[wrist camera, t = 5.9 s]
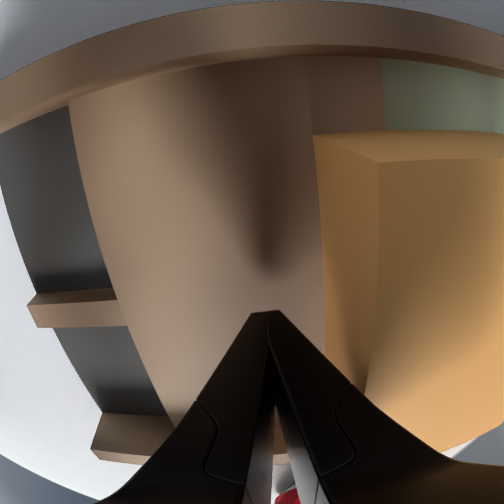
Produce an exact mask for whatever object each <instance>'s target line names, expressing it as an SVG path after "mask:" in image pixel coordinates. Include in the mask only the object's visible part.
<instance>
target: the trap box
mask: <svg viewBox="0 0 504 504" xmlns="http://www.w3.org/2000/svg"><path fill="white" fill-rule="evenodd" d="M382 130H462V131H482V132H495V133H500V134H504V36H501V35H498V34H496V33H493V32H490V31H487V30H484V29H481V28H478V27H475V26H472V25H469V24H465V23H462V22H458V21H455V20H451V19H447V18H443V17H439V16H435V15H431V14H426V13H421V12H416V11H411V10H406V9H400V8H393V7H387V6H379V5H371V4H362V3H351V2H336V1H269V2H254V3H243V4H234V5H225V6H218V7H211V8H204V9H198V10H193V11H187V12H182V13H177V14H172V15H168V16H163V17H159V18H155V19H151V20H147V21H143V22H140V23H136V24H133V25H129V26H126V27H122V28H119V29H116V30H113V31H110V32H107V33H104V34H101V35H98V36H95V37H93V38H90V39H87V40H84V41H82V42H79V43H77V44H74V45H72V46H69V47H67V48H65V49H62V50H60V51H58V52H55V53H53V54H51V55H49V56H46V57H44V58H42V59H40V60H38V61H36V62H34V63H32V64H30V65H28V66H26V67H24V68H22V69H20V70H18V71H16V72H15V73H13V74H11V75H9V76H7V77H6V78H4V79H2V80H0V185H1V190H2V194H3V197H4V201H5V205H6V208H7V212H8V215H9V219H10V222H11V225H12V229H13V232H14V235H15V238H16V241H17V244H18V247H19V249H20V252H21V255H22V258H23V260H24V263H25V266H26V268H27V271H28V273H29V276H30V278H31V281H32V283H33V286H34V288H35V291H36V293H37V294H36V295H35V296H34V298H33V299H32V300H31V301H30V302H29V303H28V305H27V307H28V309H29V311H30V313H31V315H32V317H33V319H34V321H35V323H36V325H37V327H38V328H53V329H54V331H55V333H56V335H57V337H58V339H59V341H60V343H61V345H62V347H63V349H64V350H65V352H66V354H67V356H68V358H69V359H70V361H71V363H72V365H73V366H74V368H75V370H76V372H77V373H78V375H79V377H80V378H81V380H82V382H83V383H84V385H85V386H86V388H87V390H88V391H89V393H90V394H91V396H92V397H93V399H94V401H95V402H96V404H97V405H98V407H99V408H100V409H101V411H102V412H103V413H102V416H101V418H100V421H99V424H98V427H97V430H96V433H95V436H94V439H93V442H92V445H91V448H90V449H91V451H92V452H93V453H94V454H95V455H96V456H97V457H98V458H99V459H100V460H106V461H113V462H120V463H128V464H137V465H143V464H144V463H145V462H146V461H147V460H148V459H149V458H150V457H151V456H152V455H153V454H154V452H155V451H156V450H157V449H158V448H159V447H160V446H161V445H162V444H163V442H164V441H165V440H166V439H167V438H168V436H169V435H170V434H171V433H172V432H173V431H174V429H175V428H176V427H177V425H178V424H179V423H180V421H181V420H182V418H183V417H184V416H185V414H186V413H187V411H188V410H189V408H190V407H191V405H192V404H193V402H194V401H196V398H197V396H198V395H199V393H200V392H201V390H202V389H203V387H204V386H205V384H206V383H207V381H208V380H209V378H210V377H211V375H212V373H213V372H214V370H215V369H216V367H217V366H218V364H219V363H220V361H221V360H222V358H223V356H224V355H225V353H226V352H227V350H228V349H229V347H230V345H231V344H232V342H233V341H234V339H235V338H236V336H237V334H238V333H239V331H240V330H241V328H242V326H243V325H244V323H245V322H246V320H247V319H248V317H249V315H250V314H251V313H253V312H262V311H271V310H280V311H281V312H282V313H283V314H284V315H285V316H286V317H287V318H288V319H289V320H290V321H291V322H292V323H293V324H294V325H295V326H296V327H297V328H298V329H299V330H300V331H301V332H302V333H303V334H304V335H305V336H306V337H307V338H308V339H309V340H310V341H311V342H312V343H313V344H314V345H315V346H316V347H317V348H318V349H319V351H320V352H321V353H322V354H323V355H324V356H325V312H324V279H323V256H322V238H321V222H320V208H319V195H318V183H317V172H316V162H315V152H314V142H313V135H318V134H330V133H344V132H360V131H382ZM288 463H290V461H289V457H288V453H287V449H286V445H285V441H284V437H283V433H282V429H281V425H280V422H279V418H278V414H277V410H276V406H275V429H274V450H273V465H279V464H288Z"/></svg>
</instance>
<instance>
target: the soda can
mask: <svg viewBox="0 0 504 504" xmlns="http://www.w3.org/2000/svg"><path fill="white" fill-rule="evenodd" d="M275 504H301V503H300V499H299V495H298V492H297V488H296V484H294V485H292V486H290V487H289V488H288V489H287V491H285V492H284V493H282V494H280V495H279V496H278V497H277V498H276V499H275Z"/></svg>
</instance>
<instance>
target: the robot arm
mask: <svg viewBox="0 0 504 504" xmlns="http://www.w3.org/2000/svg"><path fill="white" fill-rule="evenodd" d="M275 406H276V410H277V414H278V418H279V422H280V425H281V429H282V433H283V437H284V441H285V445H286V449H287V453H288V457H289V461H290V465H291V469H292V472H293V476H294V480H295V484H296V488H297V492H298V495H299V499H300V503H301V504H504V466H498V465H486V464H477V463H467V462H462V461H458V460H455V459H452V458H449V457H447V456H445V455H443V454H441V453H439V452H438V451H436V450H435V449H433V448H432V447H430V446H429V445H427V444H426V443H425V442H423V441H422V440H420V439H419V438H418V437H416V436H415V435H413V434H412V433H411V432H409V431H408V430H407V429H405V428H404V427H402V426H401V425H400V424H398V423H397V422H396V421H394V420H393V419H392V418H390V417H389V416H388V415H387V414H385V413H384V412H383V411H382V410H380V409H379V408H378V407H377V406H375V405H374V404H373V403H372V402H371V401H370V400H369V399H368V398H367V397H366V396H365V395H363V394H362V393H361V392H360V391H359V390H358V389H357V388H356V387H355V386H354V385H353V384H351V382H350V381H349V380H348V379H347V378H346V377H345V376H344V375H343V374H342V373H341V372H340V371H339V370H338V369H337V368H336V367H335V366H334V365H333V364H332V363H331V362H330V361H329V360H328V359H327V358H326V357H325V356H324V355H323V354H322V353H321V352H320V351H319V349H318V348H317V347H316V346H315V345H314V344H313V343H312V342H311V341H310V340H309V339H308V338H307V337H306V336H305V335H304V334H303V333H302V332H301V331H300V330H299V329H298V328H297V327H296V326H295V325H294V324H293V323H292V322H291V321H290V320H289V319H288V318H287V317H286V316H285V315H284V314H283V313H282V312H281V311H280V310H271V311H262V312H253V313H251V314H250V315H249V317H248V319H247V320H246V322H245V323H244V325H243V326H242V328H241V330H240V331H239V333H238V334H237V336H236V338H235V339H234V341H233V342H232V344H231V345H230V347H229V349H228V350H227V352H226V353H225V355H224V356H223V358H222V360H221V361H220V363H219V364H218V366H217V367H216V369H215V370H214V372H213V373H212V375H211V377H210V378H209V380H208V381H207V383H206V384H205V386H204V387H203V389H202V390H201V392H200V393H199V395H198V396H197V398H196V401H194V402H193V404H192V405H191V407H190V408H189V410H188V411H187V413H186V414H185V416H184V417H183V418H182V420H181V421H180V423H179V424H178V425H177V427H176V428H175V429H174V431H173V432H172V433H171V434H170V435H169V436H168V438H167V439H166V440H165V441H164V442H163V444H162V445H161V446H160V447H159V448H158V449H157V450H156V451H155V452H154V454H153V455H152V456H151V457H150V458H149V459H148V460H147V461H146V462H145V463H144V464H143V466H142V467H141V468H140V469H139V470H138V471H137V472H136V473H135V474H134V475H133V476H132V477H131V478H130V479H129V480H128V481H127V482H126V483H125V484H124V485H123V486H122V487H121V488H120V489H119V490H117V491H116V492H115V493H113V494H111V495H110V496H108V497H106V498H104V499H102V500H100V501H97V502H94V503H91V504H271V487H272V470H273V450H274V429H275Z"/></svg>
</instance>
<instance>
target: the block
mask: <svg viewBox="0 0 504 504" xmlns="http://www.w3.org/2000/svg"><path fill="white" fill-rule="evenodd" d="M313 142H314V152H315V162H316V172H317V183H318V195H319V208H320V222H321V238H322V256H323V279H324V312H325V357H326V358H327V359H328V360H329V361H330V362H331V363H332V364H333V365H334V366H335V367H336V368H337V369H338V370H339V371H340V372H341V373H342V374H343V375H344V376H345V377H346V378H347V379H348V380H349V381H350V382H351V384H353V385H354V386H355V387H356V388H357V389H358V390H359V391H360V392H361V393H362V394H363V395H365V396H366V397H367V398H368V399H369V400H370V401H371V402H372V403H373V404H374V405H375V406H377V407H378V408H379V409H380V410H382V411H383V412H384V413H385V414H387V415H388V416H389V417H390V418H392V419H393V420H394V421H396V422H397V423H398V424H400V425H401V426H402V427H404V428H405V429H407V430H408V431H409V432H411V433H412V434H413V435H415V436H416V437H418V438H419V439H420V440H422V441H423V442H425V443H426V444H427V445H429V446H430V447H432V448H433V449H435V450H436V451H438V452H439V453H441V452H444V451H446V450H449V449H451V448H453V447H456V446H458V445H460V444H463V443H465V442H467V441H469V440H471V439H473V438H476V437H478V436H480V435H482V434H484V433H486V432H488V431H490V430H492V429H493V428H496V427H497V426H499V425H501V424H502V422H503V421H504V134H500V133H495V132H482V131H462V130H382V131H360V132H344V133H330V134H318V135H313Z"/></svg>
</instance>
